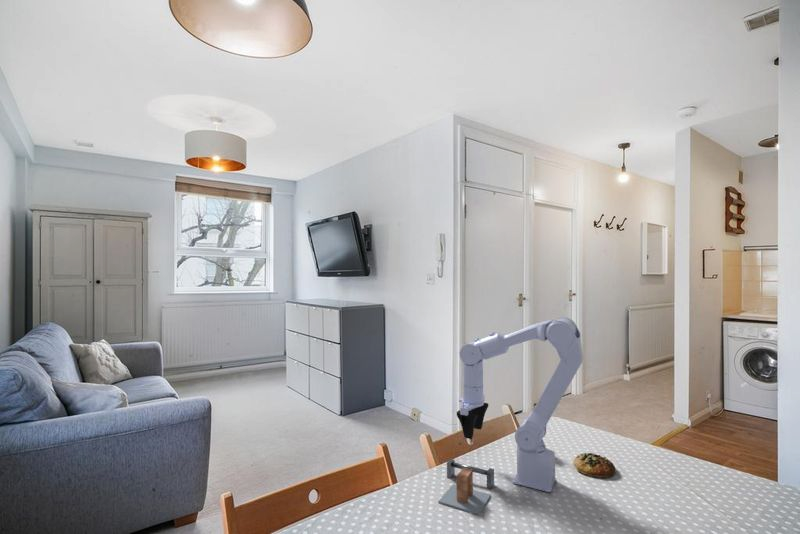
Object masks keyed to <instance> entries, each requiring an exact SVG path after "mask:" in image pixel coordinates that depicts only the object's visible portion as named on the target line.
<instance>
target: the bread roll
mask: <svg viewBox="0 0 800 534" xmlns="http://www.w3.org/2000/svg"><path fill="white" fill-rule="evenodd" d="M572 463H573V466H574V468H575V469H576V470H577V471H578V472H579V473H580V472H581V474H582V473H583V474H582V475H584V474H585V476H587V475H588V476H587V477H591V476H592V477H591V478H599V477H600V479H604V478H605V477H606V478H610V477H611V478H612V477H613V476H614V475H615V473H616V471H617V469H616V466H615V464H614V463H613V462H612V461H611V460H609V459H608V458H607V457H606V456H601V455H600V454H597V453H596V454H595V453H592V452H588V453H585V452H584V453H583V452H582V453H579V454H577V455H576V456H575V457H574V458H573V462H572ZM613 474H614V475H613ZM602 477H603V478H602Z"/></svg>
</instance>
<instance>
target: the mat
mask: <svg viewBox="0 0 800 534" xmlns="http://www.w3.org/2000/svg"><path fill="white" fill-rule="evenodd" d="M491 496H492V494H490V493H486V492H483V491H479V490H475V489H473V495H472V496H471V497H470V496H468V502H467V503H466V504H465V503H462V502H458V501H457V484H455V483H452V485H451V486H450V487H449V488H448V489H447V490H446V492H445V493H444V494H443V495H442V496H441V498H440V499H439V500H438V504H440V505H445V506H447V507H451V508H453V509H457V510H460V511H464V512H466V513H467V512H468V513H470V514H474V515H477V516H479V515H480V514H481V512H482V510H483V509H484V507H485V506H486V504H487V503H488V501H489V499H490V498H491Z"/></svg>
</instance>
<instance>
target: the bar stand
mask: <svg viewBox="0 0 800 534" xmlns="http://www.w3.org/2000/svg"><path fill="white" fill-rule="evenodd" d="M456 468H457V469H459V470H462V469H463V468H467V469H471V470H473V473H475V474H479V475H484V476H486V489H489V490H492V489H493V487H494V485H495V469H494V468H488V469H487V470H486V469H483V468H479V467H476V466H472V465H471V466H470V465H467V464H463V463H459V462H456V461H455V459H453V458H449V460H447V462H446V478H449V479H452V478H453V477H454V476H455V474H456V473H455V472H456V470H455V469H456Z"/></svg>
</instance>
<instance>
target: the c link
mask: <svg viewBox="0 0 800 534" xmlns="http://www.w3.org/2000/svg"><path fill="white" fill-rule="evenodd" d="M473 474H474V472H473V470H471V469H467V468H463V469H460V471H459V472H458V473H457V474H456V485H457V501H458V502H462V503H465V504H466V503H467V502H468V496H470V497H471V496H472V495H473V490H474V486H473V485H474V484H473V483H474V482H473V479H474V477H473Z"/></svg>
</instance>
